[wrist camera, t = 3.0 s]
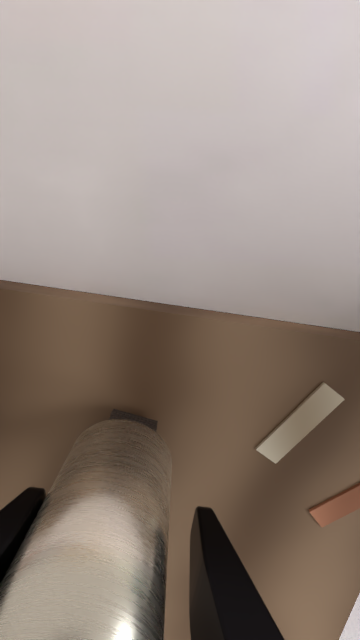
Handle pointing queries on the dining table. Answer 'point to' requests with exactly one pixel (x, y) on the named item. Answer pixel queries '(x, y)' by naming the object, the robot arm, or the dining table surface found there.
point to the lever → (97, 542)
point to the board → (202, 433)
